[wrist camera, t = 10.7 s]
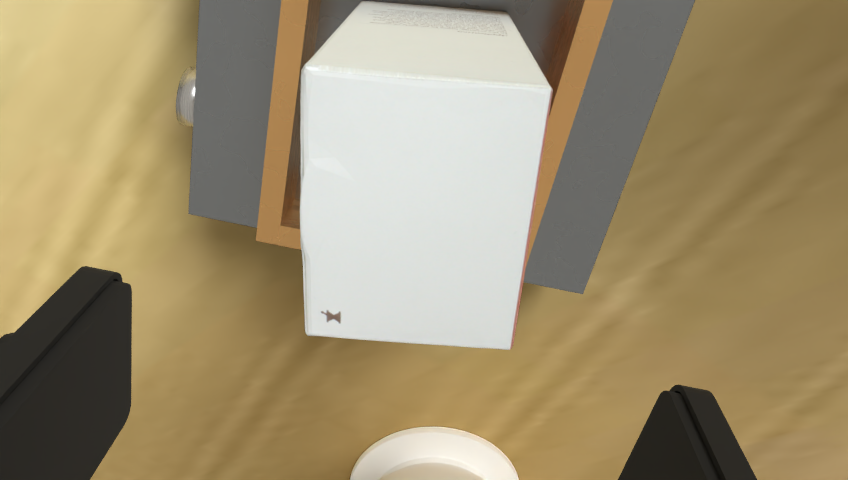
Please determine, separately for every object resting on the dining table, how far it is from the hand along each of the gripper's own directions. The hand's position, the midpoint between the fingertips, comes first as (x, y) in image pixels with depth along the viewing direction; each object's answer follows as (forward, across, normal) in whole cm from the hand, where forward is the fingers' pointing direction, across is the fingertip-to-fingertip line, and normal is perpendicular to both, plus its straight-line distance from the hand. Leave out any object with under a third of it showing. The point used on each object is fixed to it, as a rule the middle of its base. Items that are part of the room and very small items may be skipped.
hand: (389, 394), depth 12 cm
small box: (+20, 0, 0) cm, 20 cm away
